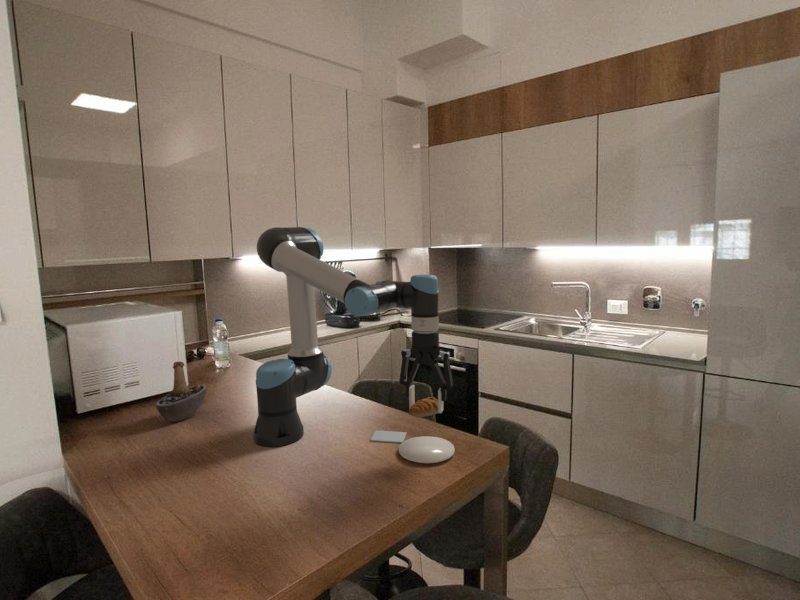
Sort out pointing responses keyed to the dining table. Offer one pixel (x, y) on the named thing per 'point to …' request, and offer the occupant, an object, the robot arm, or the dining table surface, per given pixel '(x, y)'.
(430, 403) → the pastry
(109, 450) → the dining table surface
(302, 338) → the robot arm
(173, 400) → the planter
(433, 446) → the plate
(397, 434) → the napkin
